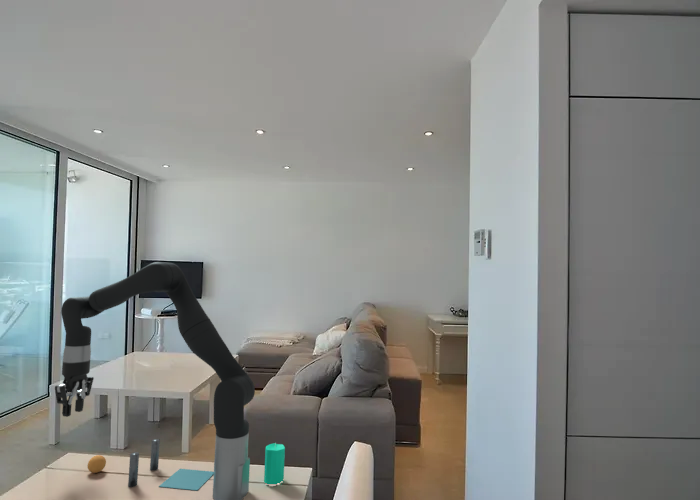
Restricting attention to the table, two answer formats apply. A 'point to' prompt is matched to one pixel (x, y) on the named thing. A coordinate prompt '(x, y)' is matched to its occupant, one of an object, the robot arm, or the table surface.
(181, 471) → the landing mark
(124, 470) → the table surface
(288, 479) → the table surface
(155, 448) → the right post
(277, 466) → the candle
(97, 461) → the ball
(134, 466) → the left post
